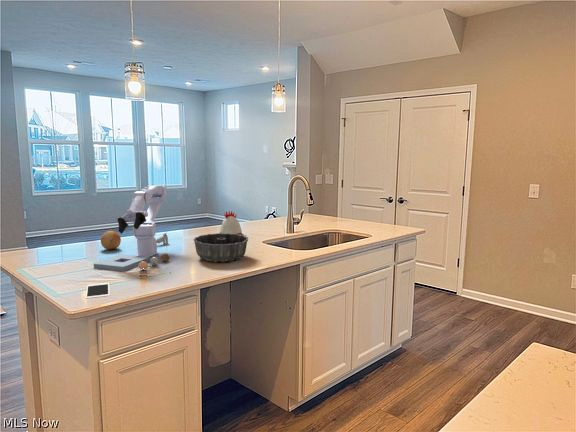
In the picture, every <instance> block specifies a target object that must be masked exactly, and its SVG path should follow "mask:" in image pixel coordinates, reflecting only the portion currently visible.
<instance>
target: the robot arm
mask: <svg viewBox="0 0 576 432" xmlns="http://www.w3.org/2000/svg"><path fill="white" fill-rule="evenodd" d="M167 195H168V188H167V186H166V185H146V187H145V186H144V187H143V188H142V189H141V190H140V191H135V192H133V193H132V198H131V204H130V206H129V209H127V211H126V213H125V214H124V215H123V216H121V217H118V218H117V223H118V232H119V233H120V234H123V233H124V232H125V230H126V228H127V227H129V223H133V227H132V235H133V237H134V238H135V239H136V244H137V248H136V249H137V253H136V254H133V256H143V257H150V258H151V257H152V256H153V257H154V255H158V254H159V251H158V243H157V241H156V240H157V239H156V237H155V236H156V233H157V224H156V222H155V219H156V217H157V215H158V214H159V213H158V212H159V210H160V208H161V205H162V204H163V203H164V202H165V201H166V199H167ZM146 204H149V205H148V208H147V210H144V208H145V206H146Z"/></svg>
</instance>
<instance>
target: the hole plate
mask: <svg viewBox="0 0 576 432" xmlns="http://www.w3.org/2000/svg"><path fill="white" fill-rule="evenodd" d="M150 259H151V256H150V257H143V256H134V254H133V255H131V254H123V253H122V254H118V255H115V256H113V257H109V258H106V259H103V260H100V261H97V262H94V263H93V269H99V270H101V269H102V270H110V271H116V272H117V271H119V272H126V271H128V270H131V269H134V268H136V267H138V265H139V263H140V262H142V261H145V262H147V263H150Z"/></svg>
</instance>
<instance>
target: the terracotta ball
mask: <svg viewBox="0 0 576 432" xmlns="http://www.w3.org/2000/svg"><path fill="white" fill-rule="evenodd" d="M137 268H138V269H139V270H140V271H142V270H141V269H143V268H144V269H146V270H148V268H149V264H148V262H145V261H142V262H140V263H139V265H138V266H137Z"/></svg>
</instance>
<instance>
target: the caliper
mask: <svg viewBox="0 0 576 432" xmlns="http://www.w3.org/2000/svg"><path fill="white" fill-rule="evenodd" d="M156 241H157V244H161V243H163V245H166V244H169V237H168V235H167V233H165V232H164V233H162V236H160V237H158V238H157V239H156Z"/></svg>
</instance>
